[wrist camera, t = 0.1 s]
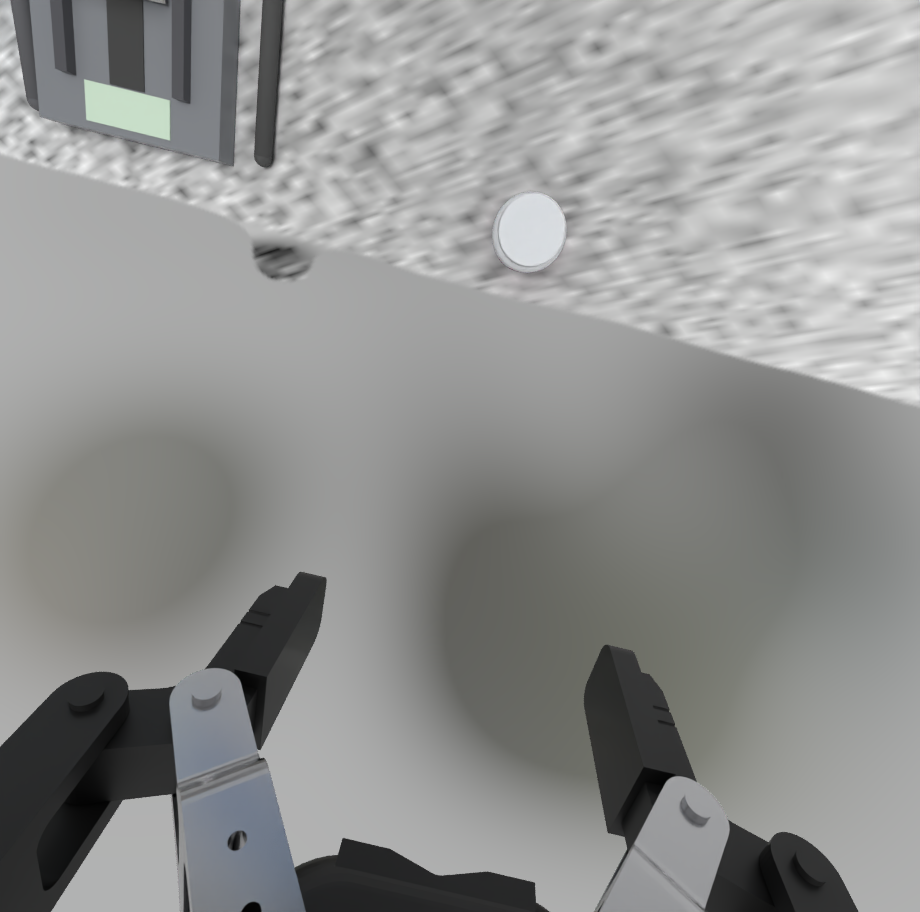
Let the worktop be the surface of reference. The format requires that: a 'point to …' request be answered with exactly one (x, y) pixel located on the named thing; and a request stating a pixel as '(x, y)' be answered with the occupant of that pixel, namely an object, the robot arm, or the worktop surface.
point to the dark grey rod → (267, 80)
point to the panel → (141, 70)
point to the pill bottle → (529, 232)
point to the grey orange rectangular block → (159, 1)
